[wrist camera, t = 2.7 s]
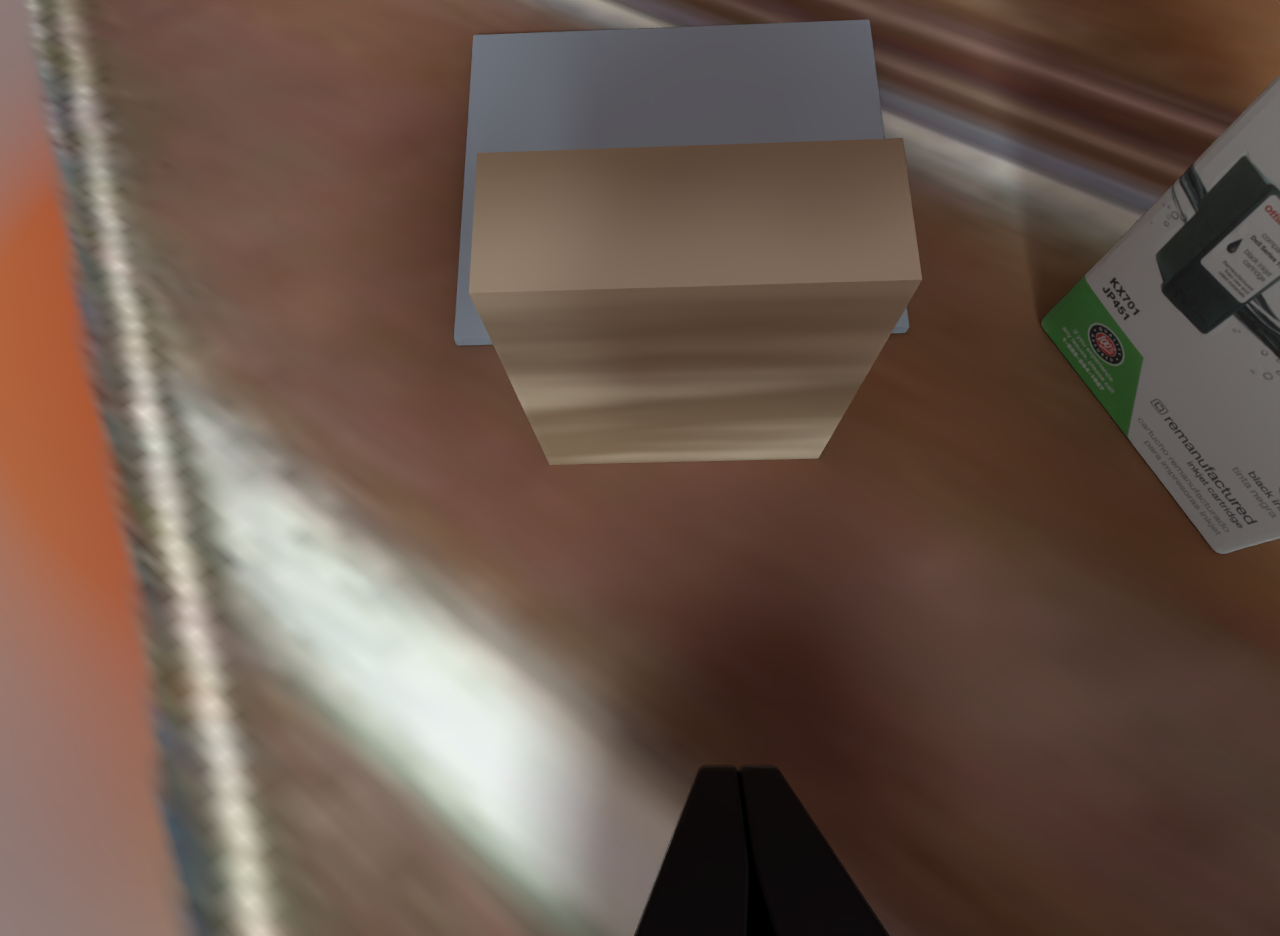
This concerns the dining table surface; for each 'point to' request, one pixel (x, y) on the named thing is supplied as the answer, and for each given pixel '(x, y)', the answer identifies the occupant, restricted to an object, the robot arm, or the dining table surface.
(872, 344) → the maple slab
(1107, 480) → the dining table surface
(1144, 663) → the dining table surface
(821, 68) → the rubber mat
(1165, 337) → the ink box
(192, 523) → the dining table surface
